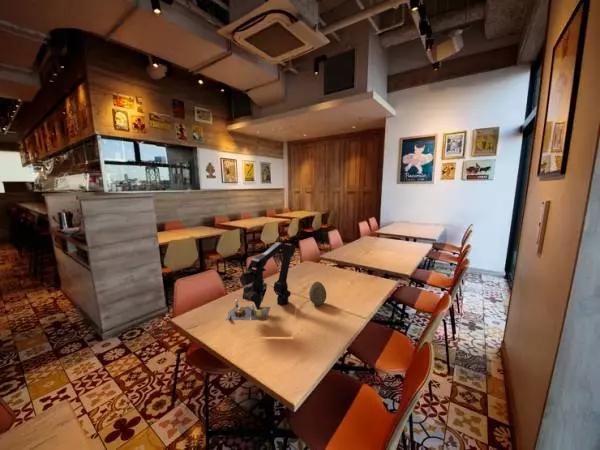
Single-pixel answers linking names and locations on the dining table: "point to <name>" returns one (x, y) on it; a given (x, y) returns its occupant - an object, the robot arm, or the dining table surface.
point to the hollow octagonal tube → (259, 312)
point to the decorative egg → (317, 293)
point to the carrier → (244, 313)
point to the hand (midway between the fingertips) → (259, 305)
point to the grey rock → (247, 295)
